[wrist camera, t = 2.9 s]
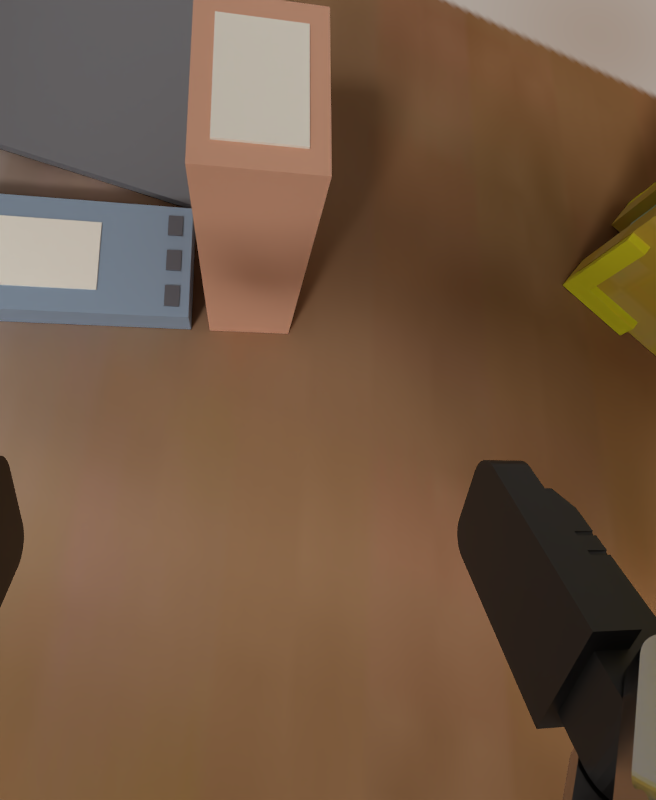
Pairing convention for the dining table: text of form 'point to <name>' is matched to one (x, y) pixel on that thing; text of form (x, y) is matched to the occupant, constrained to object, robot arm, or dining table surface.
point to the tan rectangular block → (257, 154)
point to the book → (624, 273)
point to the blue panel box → (95, 263)
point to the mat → (99, 89)
